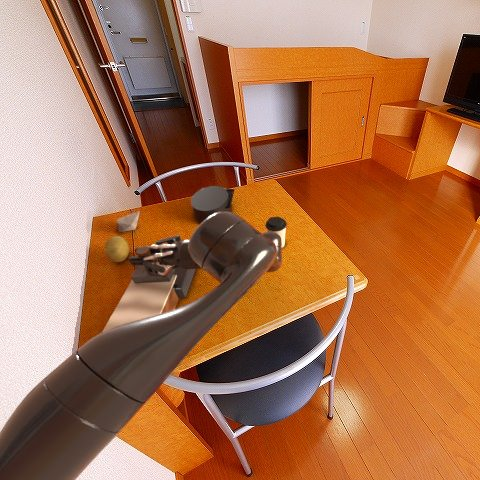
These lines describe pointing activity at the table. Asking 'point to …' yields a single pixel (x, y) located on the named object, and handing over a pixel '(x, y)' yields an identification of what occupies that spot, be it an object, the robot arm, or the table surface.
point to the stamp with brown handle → (145, 277)
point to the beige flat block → (143, 302)
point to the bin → (182, 281)
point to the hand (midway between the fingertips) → (133, 256)
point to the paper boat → (128, 222)
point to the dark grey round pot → (211, 201)
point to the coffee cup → (277, 227)
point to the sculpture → (117, 249)
